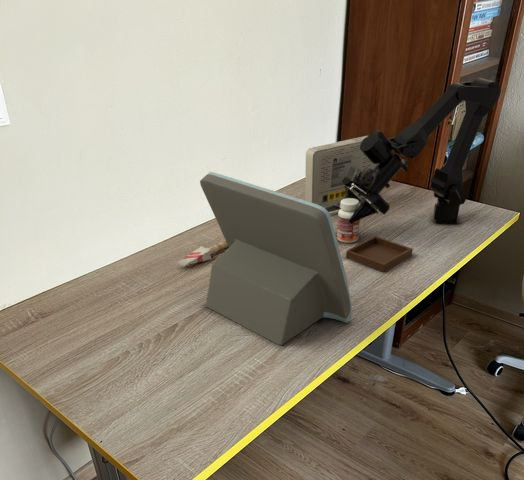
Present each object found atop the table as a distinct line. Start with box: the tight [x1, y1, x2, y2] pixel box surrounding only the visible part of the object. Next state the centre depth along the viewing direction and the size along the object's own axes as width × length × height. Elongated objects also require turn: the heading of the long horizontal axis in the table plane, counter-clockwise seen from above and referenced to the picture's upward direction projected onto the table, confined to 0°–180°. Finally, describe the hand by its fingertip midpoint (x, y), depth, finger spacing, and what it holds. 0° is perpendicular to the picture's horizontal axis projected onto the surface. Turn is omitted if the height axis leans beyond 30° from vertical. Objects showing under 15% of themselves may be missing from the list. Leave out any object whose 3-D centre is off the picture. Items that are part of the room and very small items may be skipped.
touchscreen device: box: [199, 171, 353, 346], centre depth 122 cm, size 35×20×30 cm, turn 45°
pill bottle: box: [336, 198, 361, 244], centre depth 158 cm, size 6×6×11 cm
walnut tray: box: [345, 235, 414, 273], centre depth 151 cm, size 13×12×2 cm
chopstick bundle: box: [176, 240, 229, 267], centre depth 154 cm, size 4×3×20 cm
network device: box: [304, 135, 377, 216], centre depth 176 cm, size 26×9×20 cm, turn 120°
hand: (344, 218), depth 157 cm, fingers closed on pill bottle, 6 cm apart
